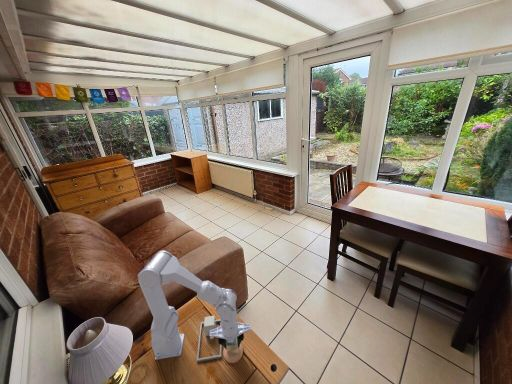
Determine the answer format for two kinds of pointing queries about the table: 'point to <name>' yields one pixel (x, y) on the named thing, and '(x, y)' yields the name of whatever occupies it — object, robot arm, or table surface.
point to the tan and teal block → (232, 347)
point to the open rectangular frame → (199, 347)
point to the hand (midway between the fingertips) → (232, 345)
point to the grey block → (209, 324)
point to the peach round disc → (235, 357)
